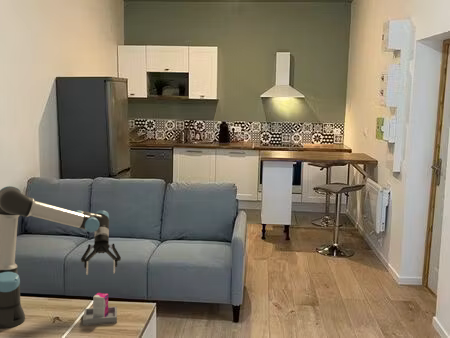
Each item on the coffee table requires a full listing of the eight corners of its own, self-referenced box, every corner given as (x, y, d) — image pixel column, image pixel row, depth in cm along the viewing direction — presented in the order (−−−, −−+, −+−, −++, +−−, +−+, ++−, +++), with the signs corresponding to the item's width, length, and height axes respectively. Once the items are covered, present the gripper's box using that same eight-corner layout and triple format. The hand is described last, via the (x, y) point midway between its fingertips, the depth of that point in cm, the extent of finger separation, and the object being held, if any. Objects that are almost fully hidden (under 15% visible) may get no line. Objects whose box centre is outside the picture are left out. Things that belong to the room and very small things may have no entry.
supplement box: (104, 319, 238) (103, 297, 237) (92, 318, 239) (92, 296, 238) (108, 315, 244) (108, 293, 242) (97, 314, 245) (97, 292, 243)
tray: (83, 325, 233) (82, 319, 233) (84, 314, 246) (84, 308, 246) (116, 322, 237) (116, 317, 237) (116, 311, 249) (116, 306, 249)
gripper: (125, 239, 268) (125, 275, 255) (78, 241, 262) (76, 277, 250) (125, 233, 262) (125, 268, 249) (77, 234, 257) (75, 270, 244)
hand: (100, 273), depth 249 cm, fingers open, 13 cm apart
